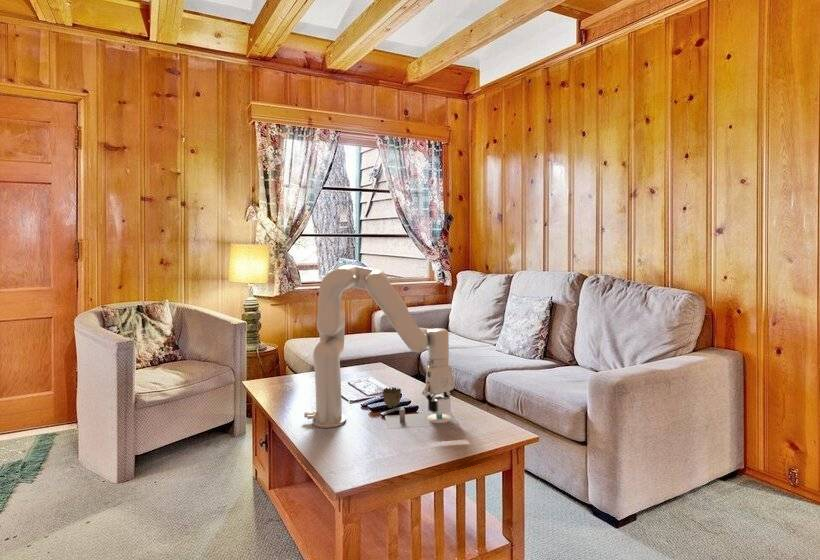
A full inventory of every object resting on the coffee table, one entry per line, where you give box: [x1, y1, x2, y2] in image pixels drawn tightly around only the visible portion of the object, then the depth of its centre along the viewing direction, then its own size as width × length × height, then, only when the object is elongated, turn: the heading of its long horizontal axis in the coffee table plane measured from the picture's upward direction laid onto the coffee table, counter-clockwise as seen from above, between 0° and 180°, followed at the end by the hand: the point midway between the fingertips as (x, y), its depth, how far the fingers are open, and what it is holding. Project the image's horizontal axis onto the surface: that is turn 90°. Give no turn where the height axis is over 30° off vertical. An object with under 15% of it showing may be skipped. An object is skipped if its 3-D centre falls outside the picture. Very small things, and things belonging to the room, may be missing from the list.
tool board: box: [384, 407, 460, 430], centre depth 190 cm, size 26×13×6 cm, turn 98°
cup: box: [382, 387, 402, 409], centre depth 206 cm, size 8×7×8 cm
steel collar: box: [427, 394, 452, 415], centre depth 191 cm, size 6×6×5 cm
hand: (439, 408), depth 191 cm, fingers closed on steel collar, 6 cm apart
